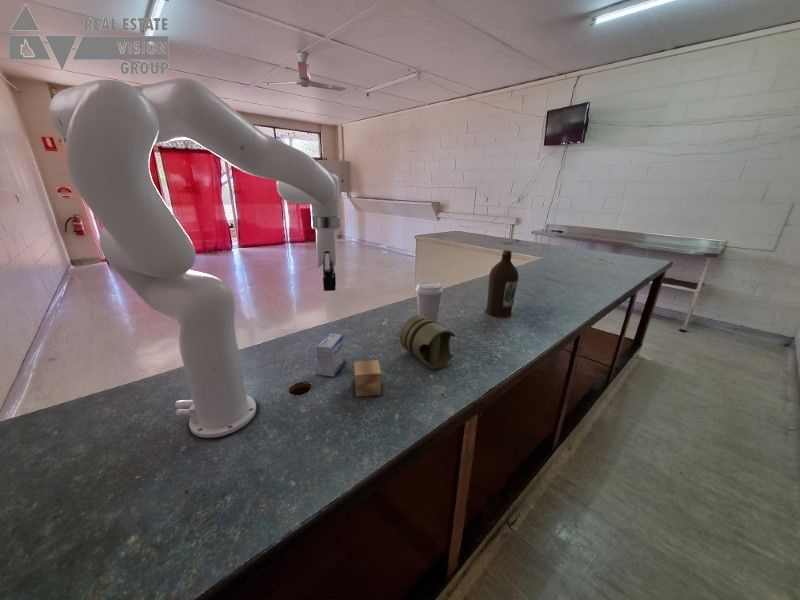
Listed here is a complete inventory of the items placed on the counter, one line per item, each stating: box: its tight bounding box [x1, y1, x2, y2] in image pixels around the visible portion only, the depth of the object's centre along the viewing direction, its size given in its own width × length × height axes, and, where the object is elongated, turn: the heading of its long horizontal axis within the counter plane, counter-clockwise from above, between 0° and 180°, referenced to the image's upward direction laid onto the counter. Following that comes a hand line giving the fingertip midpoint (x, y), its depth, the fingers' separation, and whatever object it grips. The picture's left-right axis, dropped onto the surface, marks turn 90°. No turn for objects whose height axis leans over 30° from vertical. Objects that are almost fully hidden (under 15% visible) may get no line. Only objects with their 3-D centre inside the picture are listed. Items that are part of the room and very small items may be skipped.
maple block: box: [353, 359, 382, 397], centre depth 77 cm, size 6×6×6 cm
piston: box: [399, 314, 456, 370], centre depth 90 cm, size 11×12×11 cm
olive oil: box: [485, 249, 519, 318], centre depth 122 cm, size 11×11×25 cm
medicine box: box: [315, 333, 345, 378], centre depth 84 cm, size 8×4×9 cm, turn 168°
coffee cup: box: [415, 280, 444, 324], centre depth 112 cm, size 10×10×15 cm
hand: (330, 287), depth 90 cm, fingers open, 3 cm apart
